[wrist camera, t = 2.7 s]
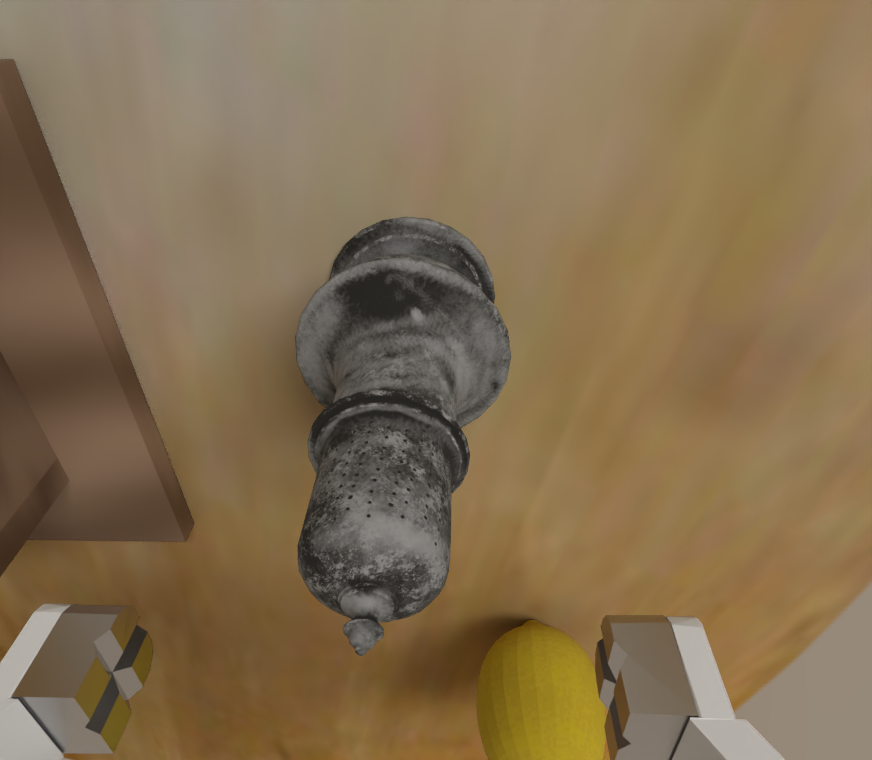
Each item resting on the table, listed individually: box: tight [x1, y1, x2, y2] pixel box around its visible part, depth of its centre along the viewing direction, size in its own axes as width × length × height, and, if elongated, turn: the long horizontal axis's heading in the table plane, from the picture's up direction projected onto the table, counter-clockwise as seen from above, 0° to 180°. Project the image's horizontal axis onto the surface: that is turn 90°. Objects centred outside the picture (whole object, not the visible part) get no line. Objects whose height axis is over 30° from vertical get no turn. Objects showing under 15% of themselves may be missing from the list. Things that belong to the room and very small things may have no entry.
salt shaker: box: [295, 217, 511, 656], centre depth 15 cm, size 6×6×12 cm
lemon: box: [476, 620, 606, 760], centre depth 27 cm, size 6×6×8 cm
